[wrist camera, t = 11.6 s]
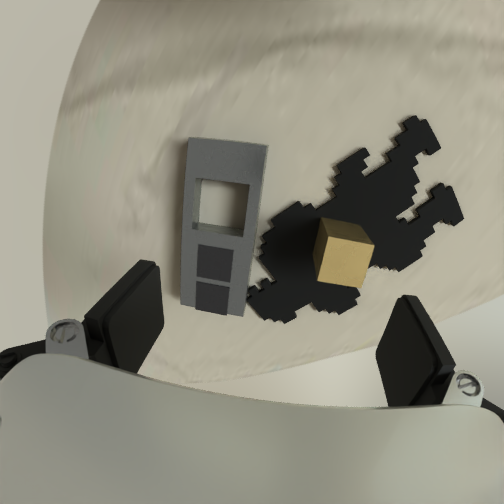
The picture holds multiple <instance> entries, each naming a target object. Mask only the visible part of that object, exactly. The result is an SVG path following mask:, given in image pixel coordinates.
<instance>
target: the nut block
mask: <svg viewBox="0 0 504 504" xmlns="http://www.w3.org/2000/svg"><path fill="white" fill-rule="evenodd" d="M374 246H375V245H374V244H373V242H372V241H371V240H370V238H369V237H368V236H367V234H366V233H365V232H364V230H363V229H362V228H361V226H360V225H358V224H353V223H348V222H343V221H338V220H333V219H328V218H323V217H321V220H320V224H319V229H318V233H317V238H316V242H315V246H314V251H313V260H314V265H315V271H316V277H317V281H321V282H327V283H333V284H339V285H345V286H351V287H357V288H361V287H362V284H363V281H364V278H365V275H366V272H367V269H368V266H369V263H370V259H371V256H372V253H373V249H374Z"/></svg>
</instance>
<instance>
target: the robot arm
mask: <svg viewBox="0 0 504 504" xmlns="http://www.w3.org/2000/svg"><path fill="white" fill-rule="evenodd" d="M84 318H85V319H84V320H83V322H82V323H80V322H79V321H77V320H75V319H63V320H59V321H57V322H55V323H53V324H52V325H51V326H50V327H49V328H48V330H47V332H46V339H45V340H41V341H37V342H33V343H29V344H25V345H21V346H16V347H12V348H8V349H6V350H4V351H2V352H1V353H0V504H504V410H502V409H501V408H499V407H497V406H496V405H494V404H492V403H491V402H489V401H487V400H486V399H484V398H483V394H484V387H483V384H482V382H481V380H480V379H479V378H478V377H477V376H476V375H475V374H473V373H471V372H469V371H465V370H461V371H458V372H456V373H455V372H454V370H453V369H454V367H455V366H456V364H455V362H454V360H453V358H452V356H451V354H450V352H449V350H448V349H447V347H446V345H445V343H444V341H443V339H442V337H441V336H440V334H439V332H438V331H437V329H436V327H435V325H434V324H433V322H432V320H431V318H430V317H429V315H428V313H427V312H426V310H425V308H424V307H423V305H422V304H421V302H420V300H419V299H418V297H417V296H412V295H402V297H401V298H398V299H397V301H396V303H395V306H394V308H393V311H392V314H391V316H390V319H389V321H388V324H387V326H386V328H385V331H384V333H383V336H382V338H381V340H380V342H379V345H378V348H377V350H376V360H377V364H378V368H379V371H380V375H381V378H382V383H383V387H384V390H385V394H386V398H387V403H388V407H337V406H318V405H303V404H291V403H282V402H273V401H265V400H258V399H251V398H244V397H237V396H232V395H226V394H220V393H215V392H210V391H205V390H200V389H195V388H190V387H186V386H182V385H177V384H173V383H169V382H165V381H161V380H158V379H154V378H150V377H146V376H143V375H139V374H137V372H138V370H139V369H140V367H141V365H142V363H143V362H144V360H145V358H146V357H147V355H148V353H149V351H150V350H151V348H152V346H153V345H154V343H155V341H156V339H157V338H158V336H159V334H160V333H161V331H162V329H163V327H164V314H163V304H162V292H161V280H160V268H159V266H156V264H155V262H153V261H147V260H139V261H138V262H137V263H136V264H135V265H134V266H133V267H132V268H131V269H130V270H129V271H128V272H127V273H126V274H125V275H124V276H123V277H122V278H121V279H120V280H119V281H118V282H117V283H116V284H115V285H114V286H113V287H112V288H111V289H110V290H109V291H108V292H107V293H106V294H105V295H104V296H103V297H102V298H101V299H100V300H99V301H98V302H97V303H96V304H95V305H94V306H93V307H92V308H91V309H90V310H89V311H88V312H87V313H86V315H85V316H84Z"/></svg>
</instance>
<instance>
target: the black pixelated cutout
mask: <svg viewBox="0 0 504 504" xmlns="http://www.w3.org/2000/svg"><path fill="white" fill-rule="evenodd" d="M402 124H403V125H404V127H405V129H406V131H404V132H403V133H401V134H400V135H398V136H397V137H395V140H396V142H397V143H398V146H397V147H395V148H394V149H392V150H391V151H389V152H387V153H386V154H387V156H388V158H389V159H390V161H389V162H387V163H386V164H384V165H383V166H381V167H380V168H378V169H377V170H375V171H374V172H372V173H371V174H369V175H368V176H366V177H364V176H363V174H362V172H361V171H363V170H364V169H366V168H367V167H368V166H367V165H366V163H365V162H364V159H365V158H367V157H368V156H370V154H369V153H368V151H367V149H366V148H362V149H361V150H359V151H358V152H356V153H355V154H353V155H352V156H350V157H349V158H347V159H346V160H344V161H343V162H341V163H340V164H338V165H336V166H337V167H338V169H339V170H340V172H341V173H340V174H338V175H337V176H335V177H334V178H335V179H336V181H337V182H338V184H339V185H337V186H336V187H334V188H333V189H332V190H333V191H334V193H335V195H336V197H334V198H333V199H331V200H330V201H328V202H327V203H325V204H324V205H322V206H321V207H319V208H318V209H316V210H315V208H314V207H313V205H312V204H311V203H310V204H309V205H307V206H306V207H303V206H302V204H301V203H300V201H298V202H296V203H295V204H293V205H292V206H290V207H289V208H288V209H286V210H285V211H283V212H282V213H280V214H279V215H277V216H276V217H274V218H273V219H271V222H272V223H273V224H274V226H275V227H274V228H273V229H271V230H270V231H268V232H267V233H265V234H264V235H263V236H262V237H263V238H264V240H265V241H266V243H264V244H263V245H261V249H262V250H263V251H264V253H263V254H262V255H260V256H259V259H260V260H261V262H262V263H263V264H264V265H265V267H266V268H267V269H268V270H269V272H270V273H271V274H272V276H273V277H274V278H275V279H276V281H274V282H273V283H271V282H270V281H269V279H268V278H266V279H264V280H262V281H261V283H260V284H261V285H262V287H263V289H261V290H258V288H257V287H256V286H255V285H254V286H252V287H251V288H249V290H248V292H249V293H250V294H251V296H249V297H247V301H248V302H249V303H250V305H251V306H252V307H253V308H254V309H255V310H256V312H257V313H258V314H259V315H260V316H261V317H262V319H263V320H264V321H265V320H266V319H268V318H271V319H272V320H273V321H274V322H276V321H278V320H280V319H281V321H282V322H283V323H284V324H285V323H287V322H289V321H291V320H293V319H295V318H297V315H296V313H295V311H296V310H298V309H300V308H302V307H304V306H305V305H307V304H309V303H311V302H312V303H313V305H314V306H315V307H316V309H317V310H318V312H320V311H322V310H324V309H326V310H327V312H328V313H331V312H333V311H336V312H337V313H338V315H340V314H342V313H343V312H345V311H347V310H349V309H350V308H352V307H354V306H356V305H357V301H356V300H355V299H356V298H357V297H359V296H361V295H360V293H359V291H358V289H357V288H356V287H351V286H345V285H339V284H333V283H327V282H321V281H317V277H316V271H315V265H314V260H313V251H314V246H315V242H316V238H317V233H318V229H319V224H320V220H321V217H323V218H328V219H333V220H338V221H343V222H348V223H353V224H358V225H360V226H361V228H362V229H363V230H364V232H365V233H366V234H367V236H368V237H369V238H370V240H371V241H372V242H373V244H374V245H375V246H374V249H373V253H372V256H371V259H370V263H369V266H368V268H370V267H371V266H373V265H375V264H376V263H377V264H378V266H379V268H380V269H381V268H382V267H384V266H385V265H387V267H388V269H389V271H390V270H391V269H393V268H394V267H396V269H397V271H398V272H400V271H401V270H403V269H404V268H406V267H407V266H409V265H410V264H412V263H413V262H415V261H416V260H418V259H419V258H421V257H422V253H421V251H420V250H421V249H423V248H424V247H426V245H425V243H424V240H425V239H426V238H428V237H429V236H430V235H432V234H433V233H435V231H434V228H433V225H435V224H436V223H437V222H439V221H440V220H442V219H443V222H444V223H445V224H447V223H449V222H451V225H452V226H455V225H457V224H458V223H459V222H461V221H462V220H463V219H464V217H463V214H462V212H461V209H460V206H459V204H458V201H457V198H456V196H455V193H454V191H453V188H452V186H448V187H446V188H445V186H444V184H443V183H440V184H438V185H437V186H436V187H434V188H433V189H431V190H430V192H431V194H432V196H433V197H432V198H431V199H430V200H428V201H427V202H425V203H424V204H422V205H421V206H419V207H418V208H417V209H416V211H417V213H418V215H419V216H417V217H416V218H415V219H413V220H412V221H410V222H409V223H407V221H406V219H405V218H404V217H403V218H402V219H400V220H399V221H398V220H397V218H396V216H397V215H399V214H400V213H402V212H403V211H405V210H406V209H408V208H409V207H411V206H412V205H414V202H413V199H412V196H413V195H415V194H416V193H417V191H416V189H415V187H414V185H416V184H417V183H419V182H420V181H419V179H418V177H417V175H416V173H415V171H414V169H413V167H414V166H416V165H417V164H419V163H418V161H417V159H416V157H415V156H416V155H417V154H419V153H420V152H422V151H423V150H426V152H427V154H428V155H432V154H433V153H435V152H436V151H438V150H439V149H441V146H440V144H439V142H438V140H437V138H436V136H435V135H434V133H433V131H432V129H431V127H430V125H429V123H428V122H427V120H426V119H423V120H422V121H419V119H418V118H417V116H416V115H415V116H413V117H411V118H409V119H408V120H406V121H405V122H403V123H402Z"/></svg>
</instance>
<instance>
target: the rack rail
mask: <svg viewBox="0 0 504 504" xmlns="http://www.w3.org/2000/svg"><path fill="white" fill-rule="evenodd" d="M268 146H269V145H265V144H257V143H249V142H241V141H232V140H222V139H212V138H199V137H189V139H188V149H187V160H186V172H185V185H184V200H183V218H182V241H181V305H186V306H191V307H195V309H196V310H201V311H206V312H211V313H216V314H221V315H226V316H227V314H231V315H236V316H242V317H243V315H244V311H245V307H246V302H247V295H248V287H249V280H250V273H251V266H252V259H253V252H254V245H255V238H256V231H257V224H258V217H259V210H260V203H261V196H262V189H263V181H264V174H265V167H266V160H267V153H268ZM202 178H203V179H211V180H219V181H227V182H235V183H242V184H249V185H250V188H249V195H248V203H247V211H246V219H245V227H244V230H243V229H237V228H230V227H224V226H218V225H211V224H205V223H198V222H199V208H200V195H201V184H202Z"/></svg>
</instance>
